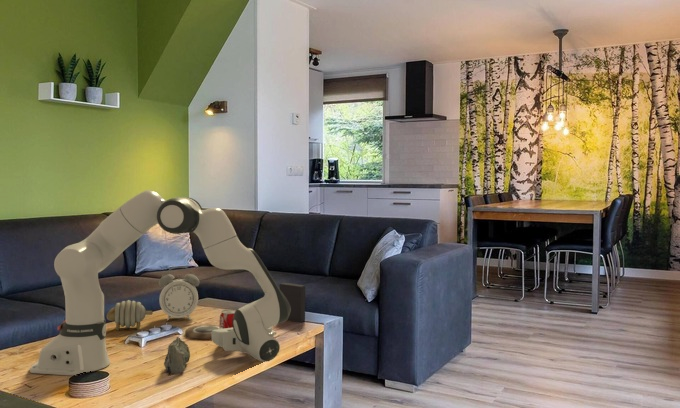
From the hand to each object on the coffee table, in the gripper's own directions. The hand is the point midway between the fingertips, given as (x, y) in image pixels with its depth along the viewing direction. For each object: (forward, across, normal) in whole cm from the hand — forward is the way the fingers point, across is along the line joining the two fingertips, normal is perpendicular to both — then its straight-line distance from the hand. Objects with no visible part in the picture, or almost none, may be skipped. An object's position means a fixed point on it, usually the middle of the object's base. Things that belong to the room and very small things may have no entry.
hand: (234, 328), depth 203 cm
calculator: (+26, -36, +7) cm, 45 cm away
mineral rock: (-11, +22, +7) cm, 26 cm away
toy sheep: (+43, +26, +8) cm, 51 cm away
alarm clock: (+49, +5, +7) cm, 50 cm away
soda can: (+5, 0, +7) cm, 9 cm away
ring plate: (+22, +2, +7) cm, 23 cm away
